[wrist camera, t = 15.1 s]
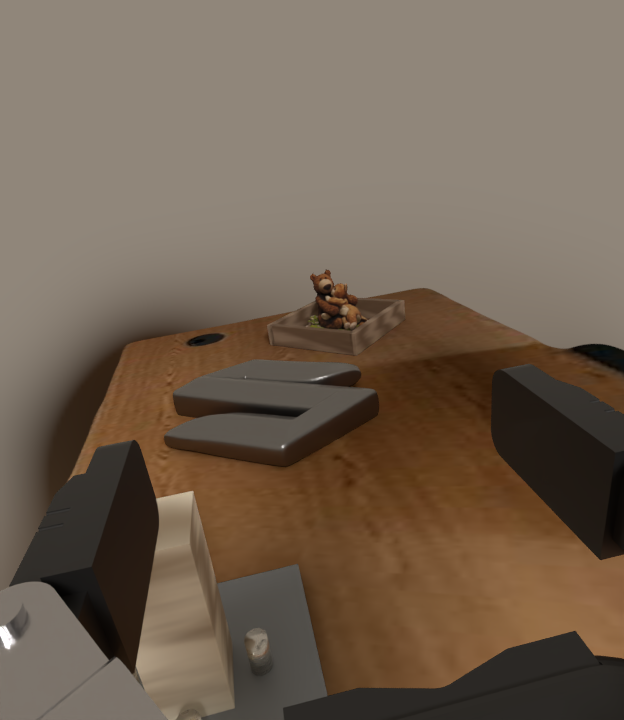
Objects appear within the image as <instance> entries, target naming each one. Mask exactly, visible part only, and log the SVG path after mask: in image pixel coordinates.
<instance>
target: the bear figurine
mask: <svg viewBox="0 0 624 720" xmlns="http://www.w3.org/2000/svg"><path fill="white" fill-rule="evenodd" d="M330 274H331V273H330V271H329V270H326V271H325V273H324V274H321V275H319V276H315V275H314V274H312V275H311V276H310V279H311V280H312V281H313V284H314V290H315V291H316V292H317V297H316V303H317V304H318V316H317V315H313V316H311V317H310V319H311V320H309V321H308V322H309V325H307V326H305V327H314V328H325V329H336V330H347V331H353V330H354V329H356V328H357V327H359V326H360V325H362V324H363V323H365V322H366V321H368V320H367V319H366V318H365V317H363V316H362V315H361V313H360V311H359V310H358V308H357V307H356V305H357V303H358V299H357V298H356V297H355V296H353V295H348V294H347V284H345V285H343V284H337V285H335V286H334V283H333V281H332V279H331V277H330Z"/></svg>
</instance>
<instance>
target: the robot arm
mask: <svg viewBox="0 0 624 720" xmlns="http://www.w3.org/2000/svg"><path fill="white" fill-rule="evenodd" d="M491 433H492V439H493V442H494V445H495V448H496V450H497V452H498V453H499V455H500V456H501V457H502V458H503V459H504V460H505V461H506V462H507V463H508V465H509V466H510V467H511V468H512V469H513V470H514V471H515V472H516V473H517V474H518V475H519V476H520V477H521V478H522V479H523V480H524V481H525V482H526V483H527V484H528V485H529V486H530V487H531V488H532V490H533V491H534V492H535V493H536V494H537V495H538V496H539V497H540V498H541V499H542V500H543V501H544V502H545V503H546V504H547V505H548V506H549V507H550V508H551V509H552V510H553V511H554V512H555V514H556V515H557V516H558V517H559V518H560V519H561V520H562V521H563V522H564V523H565V524H566V525H567V526H568V527H569V528H570V529H571V530H572V531H573V532H574V533H575V534H576V535H577V536H578V538H579V539H580V540H581V541H582V542H583V543H584V544H585V545H586V546H587V547H588V548H589V549H590V550H591V551H592V552H593V553H594V554H595V555H596V556H597V557H598V558H599V559H600V560H603V559H607V558H611V557H615V556H619V555H623V554H624V414H622V413H620V412H619V411H616V412H615V410H614V408H612V407H611V406H609V405H608V404H606V403H604V402H600V401H599V399H598V398H596V397H595V396H593V395H591V394H590V393H588V392H587V391H585V390H583V389H582V388H580V387H577V386H574V385H570V384H567V383H564V382H561V381H558V380H555V379H554V378H552V377H551V376H549V375H548V374H546V373H544V372H543V371H541V370H540V369H538V368H537V367H535V366H533V365H531V364H526V365H521V366H516V367H511V368H506V369H501V370H497V371H496V372H495V373H494V375H493V380H492V415H491ZM46 514H47V515H46V516H44V518H43V520H42V522H41V524H40V526H39V528H38V529H39V532H36V534H35V536H34V538H33V540H32V542H31V544H30V546H29V548H28V550H27V552H26V554H25V556H24V558H23V560H22V562H21V564H20V566H19V568H18V570H17V572H16V574H15V576H14V578H13V580H12V582H11V584H10V586H9V587H8V588H6V589H4V590H2V591H0V720H168V719H167V718H166V717H165V715H164V714H163V713H162V712H161V710H160V709H159V708H158V706H157V705H156V704H155V703H154V701H153V700H152V699H151V698H150V696H149V695H148V694H147V693H146V691H145V690H144V689H143V688H142V686H141V685H140V684H139V683H138V681H137V680H136V679H135V678H134V676H133V675H132V674H133V673H135V667H136V661H137V655H138V649H139V643H140V637H141V631H142V626H143V620H144V614H145V608H146V602H147V596H148V590H149V584H150V578H151V572H152V566H153V561H154V555H155V549H156V543H157V537H158V531H159V512H158V505H157V501H156V497H155V494H154V490H153V487H152V484H151V481H150V478H149V474H148V471H147V468H146V465H145V461H144V458H143V455H142V452H141V449H140V446H139V444H138V443H137V441H135V440H132V441H127V442H121V443H116V444H111V445H106V446H101V447H98V448H97V449H96V451H95V453H94V455H93V458H92V460H91V462H90V464H89V467H88V469H87V471H86V474H81V475H76V476H73V477H72V478H71V479H70V480H69V481H68V482H67V483H66V484H65V485H64V486H63V487H62V488H61V489H60V490H59V491H58V492H57V493H56V494H55V496H54V498H53V500H52V502H51V504H50V506H49V508H48V510H47V512H46ZM283 714H284V720H624V659H622V658H615V657H607V656H594V655H593V654H592V652H591V651H590V650H589V648H588V647H587V646H586V644H585V643H584V642H583V640H582V639H581V638H580V636H579V635H578V634H577V632H576V631H573V632H569V633H565V634H561V635H558V636H554V637H550V638H546V639H542V640H539V641H535V642H531V643H527V644H523V645H520V646H516V647H512V648H508V649H506V650H504V651H503V652H501V653H500V654H498V655H496V656H495V657H493V658H492V659H490V660H488V661H487V662H485V663H483V664H482V665H480V666H479V667H477V668H475V669H474V670H472V671H471V672H469V673H467V674H466V675H464V676H462V677H461V678H459V679H458V680H456V681H454V682H453V683H451V684H449V685H447V686H445V687H442V688H435V689H425V688H356V689H353V690H349V691H345V692H341V693H337V694H334V695H330V696H326V697H322V698H318V699H315V700H311V701H307V702H303V703H299V704H296V705H292V706H288V707H284V708H283Z"/></svg>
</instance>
